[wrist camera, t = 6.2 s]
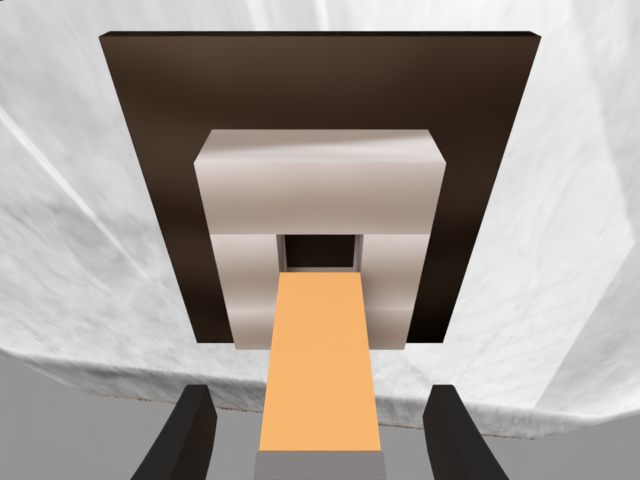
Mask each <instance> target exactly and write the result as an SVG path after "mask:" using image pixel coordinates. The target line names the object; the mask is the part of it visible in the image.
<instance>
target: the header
mask: <svg viewBox="0 0 640 480" xmlns="http://www.w3.org/2000/svg"><path fill="white" fill-rule="evenodd" d="M98 38H99V41H100V44H101V47H102V50H103V53H104V56H105V59H106V63H107V66H108V69H109V72H110V75H111V78H112V81H113V84H114V87H115V90H116V94H117V97H118V100H119V103H120V106H121V109H122V112H123V115H124V118H125V121H126V125H127V128H128V131H129V134H130V137H131V140H132V143H133V146H134V149H135V152H136V156H137V159H138V162H139V165H140V168H141V171H142V174H143V177H144V180H145V183H146V187H147V190H148V193H149V196H150V199H151V202H152V205H153V208H154V211H155V214H156V218H157V221H158V224H159V227H160V230H161V233H162V236H163V239H164V242H165V245H166V248H167V252H168V255H169V258H170V261H171V264H172V267H173V270H174V273H175V276H176V279H177V283H178V286H179V289H180V292H181V295H182V298H183V301H184V304H185V307H186V310H187V314H188V317H189V320H190V323H191V326H192V329H193V332H194V335H195V338H196V341H197V343H234V344H235V349H236V350H271V344H272V336H273V327H274V319H275V310H276V301H277V293H278V284H279V276H280V272H360V276H361V284H362V293H363V301H364V310H365V318H366V327H367V336H368V344H369V350H404V349H405V344H406V343H443V341H444V338H445V335H446V332H447V329H448V326H449V323H450V320H451V317H452V314H453V310H454V307H455V304H456V301H457V298H458V295H459V292H460V289H461V286H462V283H463V279H464V276H465V273H466V270H467V267H468V264H469V261H470V258H471V255H472V252H473V248H474V245H475V242H476V239H477V236H478V233H479V230H480V227H481V224H482V221H483V218H484V214H485V211H486V208H487V205H488V202H489V199H490V196H491V193H492V190H493V187H494V183H495V180H496V177H497V174H498V171H499V168H500V165H501V162H502V159H503V156H504V152H505V149H506V146H507V143H508V140H509V137H510V134H511V131H512V128H513V125H514V121H515V118H516V115H517V112H518V109H519V106H520V103H521V100H522V97H523V94H524V90H525V87H526V84H527V81H528V78H529V75H530V72H531V69H532V66H533V63H534V59H535V56H536V53H537V50H538V47H539V44H540V41H541V38H542V36H540V35H537V34H535V33H533V32H531V31H109V32H107V33H105V34H103V35H100V36H98Z"/></svg>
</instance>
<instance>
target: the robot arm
mask: <svg viewBox="0 0 640 480" xmlns="http://www.w3.org/2000/svg"><path fill="white" fill-rule="evenodd" d="M0 1H3V0H0ZM217 418H218V416H217V413H216V410H215V407H214V404H213V401H212V398H211V395H210V392H209V389H208V386H207V384H188V385H187V386H185V388H184V390H183V392H182V394H181V396H180V398H179V400H178V402H177V403H176V405H175V407H174V409H173V411H172V413H171V414H170V416H169V418H168V420H167V421H166V423H165V425H164V427H163V428H162V430H161V432H160V434H159V435H158V437H157V438H156V440H155V442H154V443H153V445H152V447H151V448H150V450H149V451H148V453H147V455H146V456H145V458H144V459H143V461H142V463H141V464H140V466H139V467H138V469H137V470H136V472H135V473H134V475H133V476H132V478H131V479H130V480H206V476H207V472H208V468H209V464H210V460H211V456H212V452H213V446H214V440H215V433H216V425H217ZM422 418H423V425H424V433H425V440H426V446H427V452H428V456H429V460H430V464H431V468H432V472H433V476H434V480H510V479H509V478H508V476H507V475H506V473H505V472H504V470H503V469H502V467H501V466H500V464H499V463H498V461H497V460H496V458H495V456H494V455H493V453H492V452H491V450H490V448H489V447H488V445H487V444H486V442H485V440H484V439H483V437H482V435H481V434H480V432H479V430H478V429H477V427H476V425H475V423H474V422H473V420H472V418H471V416H470V415H469V413H468V411H467V409H466V407H465V406H464V404H463V402H462V400H461V398H460V396H459V394H458V392H457V390H456V388H455V386H453V385H452V384H433V386H432V389H431V392H430V395H429V398H428V401H427V404H426V407H425V410H424V413H423V416H422Z"/></svg>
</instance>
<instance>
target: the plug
mask: <svg viewBox="0 0 640 480" xmlns="http://www.w3.org/2000/svg"><path fill="white" fill-rule="evenodd" d="M253 480H387V477H386V468H385V460H384V452H381V447H380V438H379V429H378V421H377V412H376V404H375V395H374V387H373V378H372V370H371V361H370V353H369V344H368V336H367V327H366V318H365V310H364V301H363V293H362V284H361V276H360V272H280V276H279V284H278V293H277V301H276V310H275V319H274V327H273V336H272V344H271V353H270V361H269V370H268V378H267V387H266V395H265V404H264V412H263V421H262V430H261V438H260V447H259V452H256V460H255V469H254V477H253Z"/></svg>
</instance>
